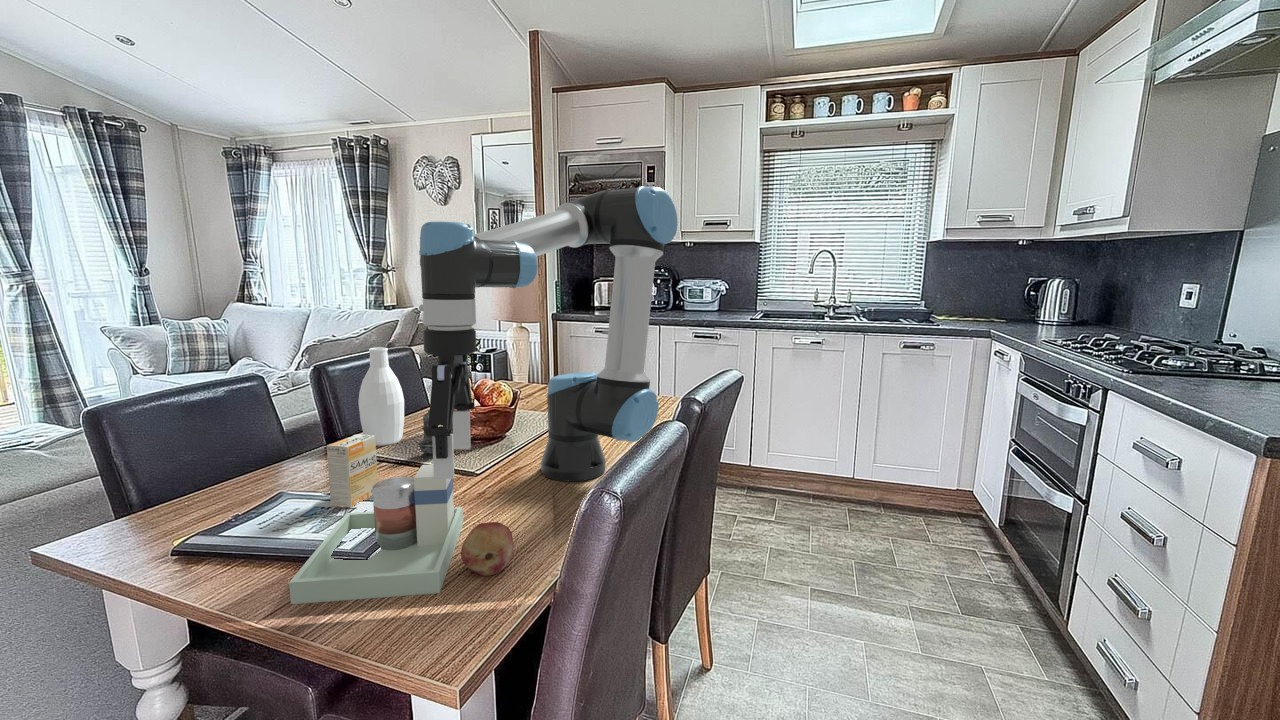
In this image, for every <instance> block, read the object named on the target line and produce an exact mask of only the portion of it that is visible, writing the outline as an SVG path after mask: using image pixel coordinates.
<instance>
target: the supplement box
mask: <svg viewBox="0 0 1280 720" xmlns="http://www.w3.org/2000/svg"><path fill="white" fill-rule="evenodd" d="M376 447H377V446H376V442H375V436H374V435H364V434H360V433H358V434H353V435H352V436H349V437H345V438H343V439H341V440H340V439H339V440H337V441H336V442H333V443H329V444H327V445H326V451H327V452H326V454H327V466H328V467H327V468H328V470H327V471H328V481H329V482H328V483H329V494H330V495H329V496H330V497H329V498H330V506H331V507H334V506H343V507H342V508H344V507H352V506H354V505H356V504H357V503H359V502H361V501H362V502H364V501H366V500H368V499H369V498H371V497H373V496H372V495H373V485H374V484H376V483H377V482H379V481H378V468H377V466H378V465H377V464H378V463H377V449H376ZM370 496H371V497H370ZM367 498H368V499H367ZM365 499H366V500H365ZM363 500H364V501H363ZM362 502H361V503H362ZM359 504H360V503H359ZM357 505H358V504H357ZM357 505H356V506H357ZM354 507H355V506H354ZM352 508H353V507H352Z"/></svg>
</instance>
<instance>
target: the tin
mask: <svg viewBox="0 0 1280 720" xmlns="http://www.w3.org/2000/svg"><path fill="white" fill-rule="evenodd" d="M414 491H415V489H414V477H411V476H394V477H390V478H386V479H383V480H380V481H378V482H377V483H376V484H374V485H373V496H372V499H373V503H372V504H373V505H372V506H373V512H374V521H375V531H376V541H377V543H378V544H379V545H380V547H381V549H382V550H400V549H404V548H408V547H410V546H412V545H414V544H416V543H417V527H416V508H415V496H414Z"/></svg>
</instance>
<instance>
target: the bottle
mask: <svg viewBox="0 0 1280 720" xmlns="http://www.w3.org/2000/svg"><path fill="white" fill-rule="evenodd" d="M388 350H389V349H388V347H382V346H381V347H371V348H369V349H368V351H369V368H368V370H367V372H366V373H365V375H364V377H363V379H362V381H361V384H360V387H359V392H358V393H359V395H358V411H359V418H360V419H359V420H360V425H361V430H362V432H363V434H362V435H374V436H375V442H376V447H381V446H382V447H383V446H390V445H394V444H397V443H399V442H400V441H401V440H402V439H403V435H404V425H405V398H404V393H403V388H402V386H401V384H400V381H399V379H398V377H397V376H396V374H395V373H394V371H393V370H392V368H391V367H390V365H389V364H390V363H389V355H388Z"/></svg>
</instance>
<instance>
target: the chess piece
mask: <svg viewBox="0 0 1280 720" xmlns="http://www.w3.org/2000/svg"><path fill="white" fill-rule="evenodd" d="M429 412H430V409H428V410H427V413H424V415H423V417H422V418H423V419H422V420H423V427H422V428H421V429H422V432H423V439H422V440H420V441H419V442H417V445H418V447H419V449H420V451H421V452H422V454H421V456H419V458H420V457H421V458H423V459H422V460H425V459H431V460H433V441H432V436H426V430H428V424H429ZM421 458H420V459H421Z"/></svg>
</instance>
